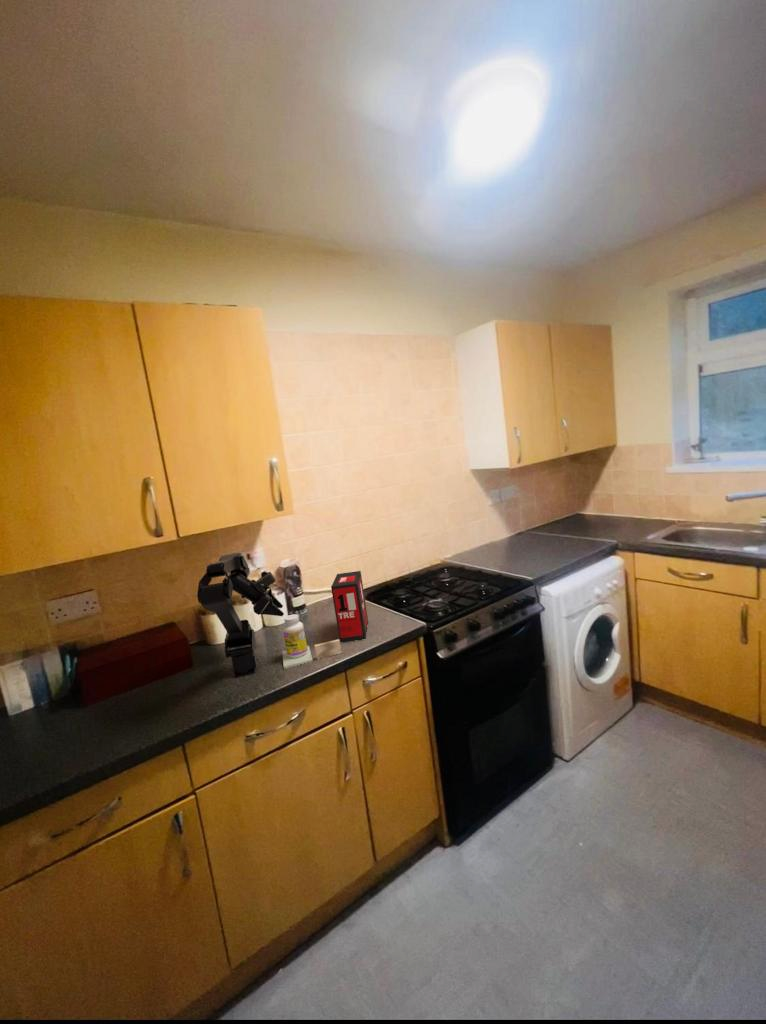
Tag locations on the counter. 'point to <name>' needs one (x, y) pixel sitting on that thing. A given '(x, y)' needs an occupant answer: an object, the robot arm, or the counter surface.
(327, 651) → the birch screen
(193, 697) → the counter surface
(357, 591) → the cleaning product box
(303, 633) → the supplement bottle
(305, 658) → the sage board
